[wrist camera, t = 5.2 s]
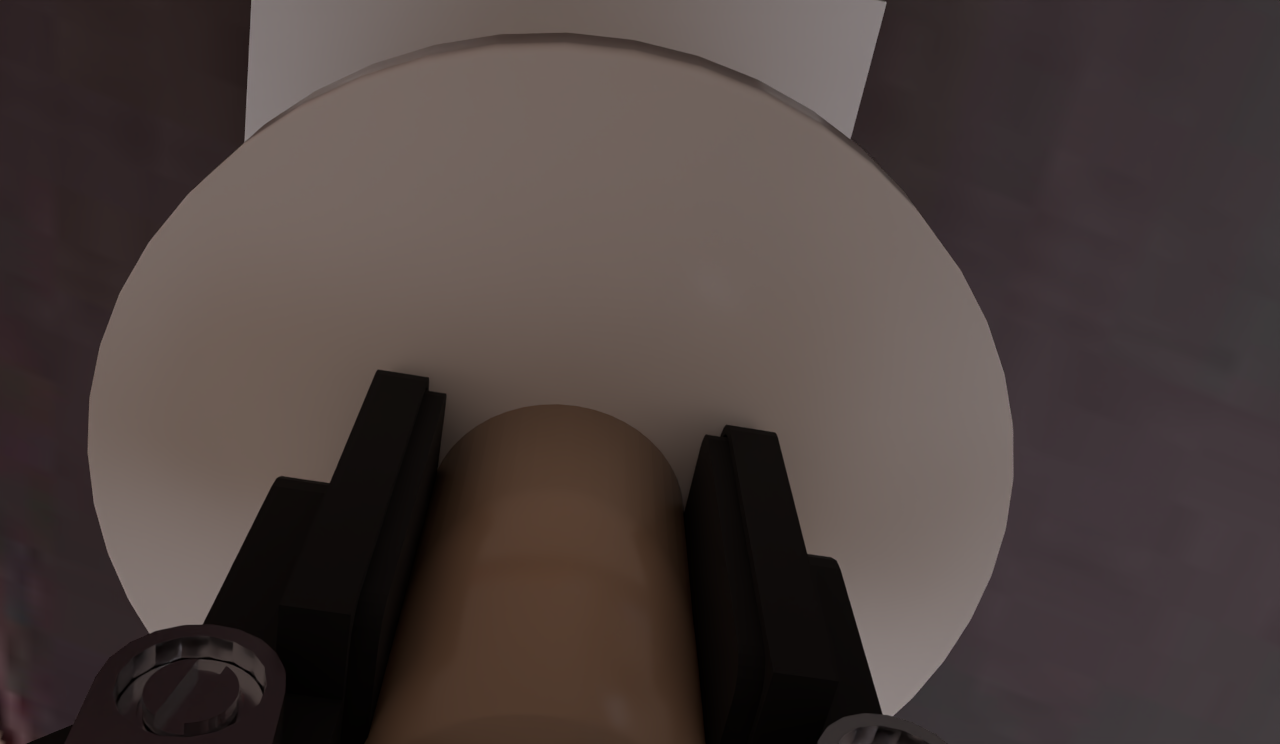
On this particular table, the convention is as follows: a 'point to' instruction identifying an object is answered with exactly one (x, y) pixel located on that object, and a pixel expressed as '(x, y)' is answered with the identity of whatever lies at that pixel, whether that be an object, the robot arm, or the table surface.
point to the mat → (569, 3)
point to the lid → (558, 373)
